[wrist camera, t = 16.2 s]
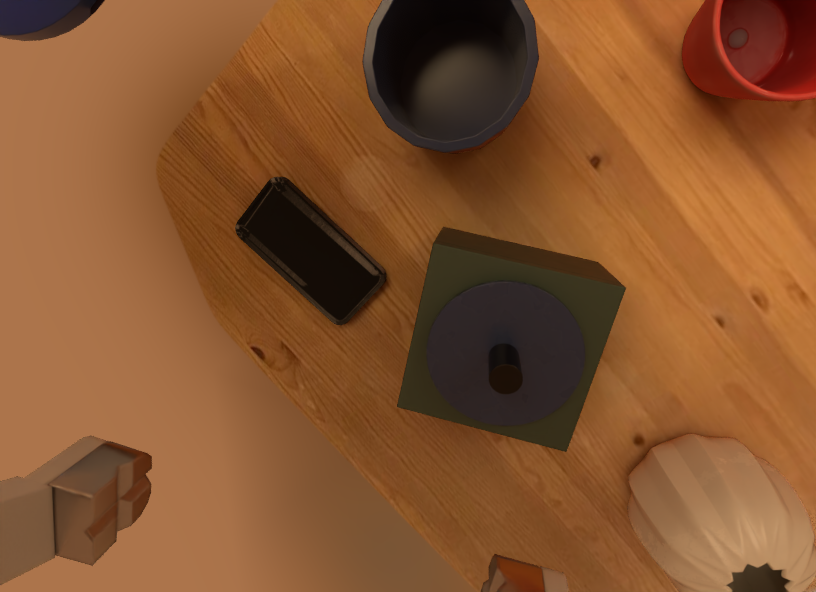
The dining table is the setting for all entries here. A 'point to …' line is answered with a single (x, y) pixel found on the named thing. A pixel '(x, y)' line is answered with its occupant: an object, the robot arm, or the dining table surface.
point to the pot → (450, 69)
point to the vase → (721, 518)
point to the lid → (505, 353)
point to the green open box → (501, 260)
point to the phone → (310, 250)
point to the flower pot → (753, 49)
